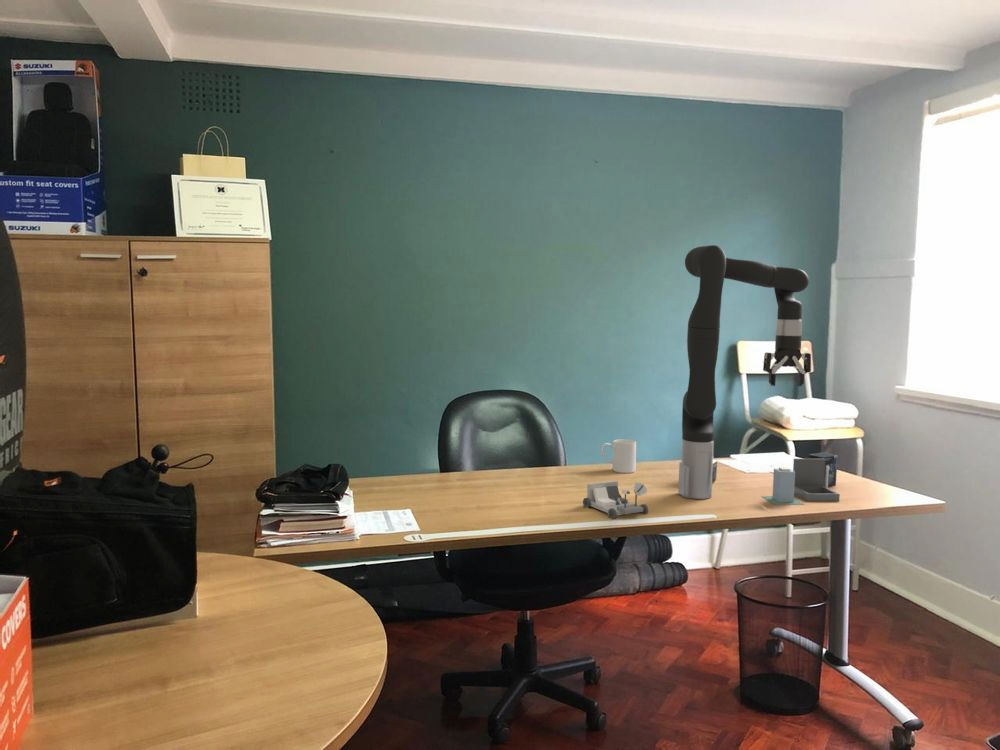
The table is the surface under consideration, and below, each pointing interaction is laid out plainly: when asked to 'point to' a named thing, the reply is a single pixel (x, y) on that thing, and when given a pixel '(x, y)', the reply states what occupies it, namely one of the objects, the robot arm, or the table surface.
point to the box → (829, 461)
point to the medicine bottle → (714, 469)
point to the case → (812, 480)
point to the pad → (782, 502)
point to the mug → (623, 455)
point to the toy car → (614, 498)
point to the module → (783, 484)
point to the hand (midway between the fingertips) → (786, 385)
